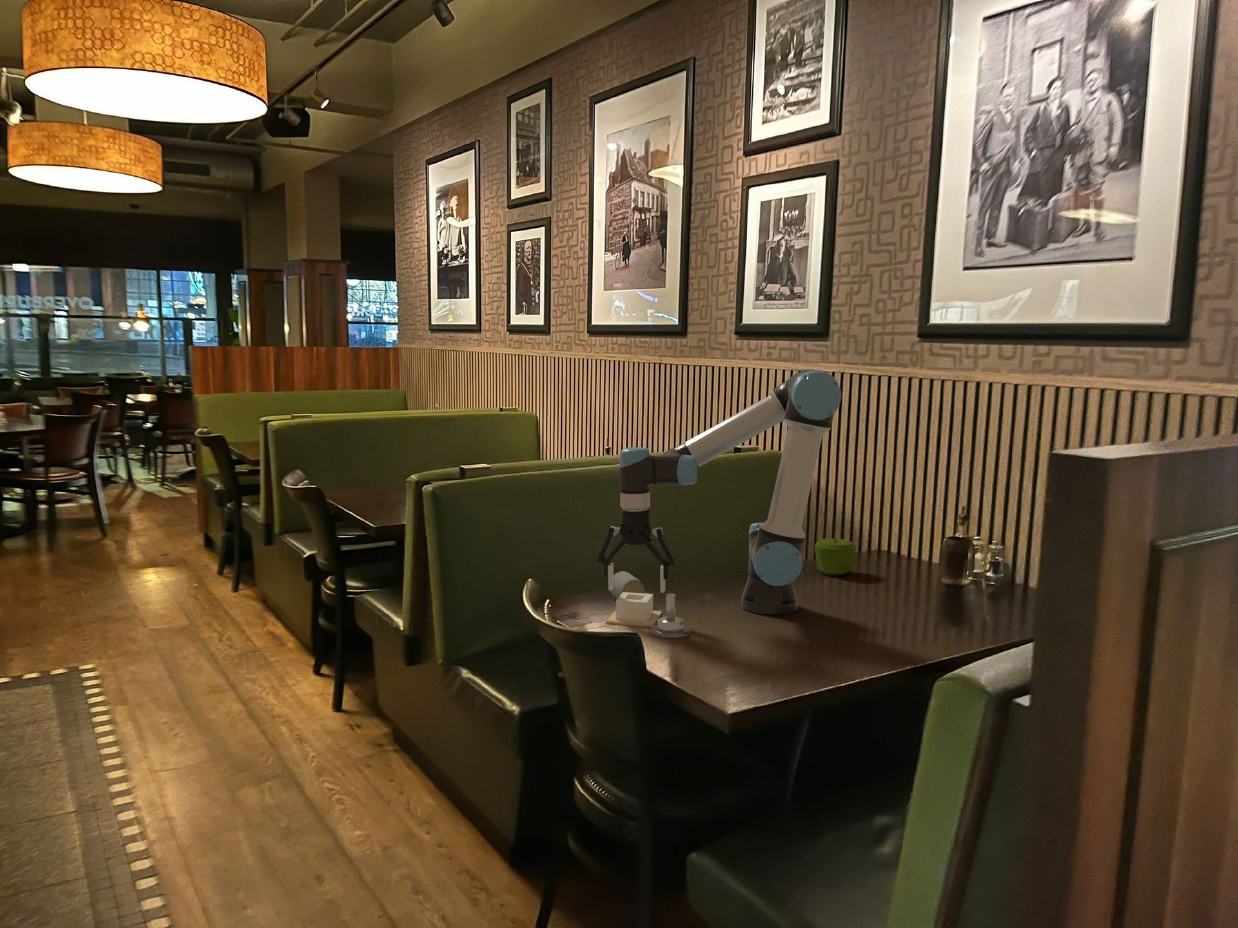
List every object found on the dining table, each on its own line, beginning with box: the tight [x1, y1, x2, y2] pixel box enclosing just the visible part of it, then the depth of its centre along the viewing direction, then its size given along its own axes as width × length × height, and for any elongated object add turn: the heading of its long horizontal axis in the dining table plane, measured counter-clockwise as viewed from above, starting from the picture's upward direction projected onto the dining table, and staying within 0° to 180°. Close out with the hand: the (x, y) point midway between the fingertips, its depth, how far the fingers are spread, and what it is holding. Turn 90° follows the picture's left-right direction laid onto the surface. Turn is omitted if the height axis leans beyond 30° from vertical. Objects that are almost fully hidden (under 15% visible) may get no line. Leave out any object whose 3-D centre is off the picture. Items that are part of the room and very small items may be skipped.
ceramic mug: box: [609, 570, 650, 599], centre depth 246 cm, size 11×8×8 cm
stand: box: [649, 592, 692, 640], centre depth 218 cm, size 10×10×10 cm
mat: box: [605, 609, 663, 628], centre depth 230 cm, size 12×12×1 cm
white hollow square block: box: [615, 592, 654, 622], centre depth 229 cm, size 8×8×5 cm
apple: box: [814, 537, 857, 577], centre depth 277 cm, size 12×12×11 cm
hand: (636, 590), depth 229 cm, fingers open, 13 cm apart
